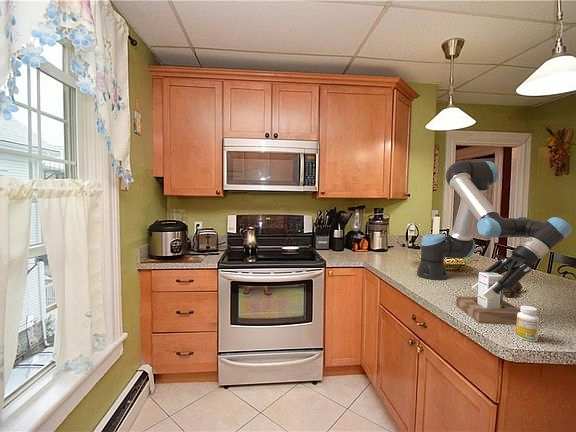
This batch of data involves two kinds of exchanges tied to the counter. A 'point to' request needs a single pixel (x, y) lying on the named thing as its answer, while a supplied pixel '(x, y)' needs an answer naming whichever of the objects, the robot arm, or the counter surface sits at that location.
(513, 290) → the bolt
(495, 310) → the socket block
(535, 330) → the supplement bottle
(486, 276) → the syrup box
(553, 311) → the counter surface
